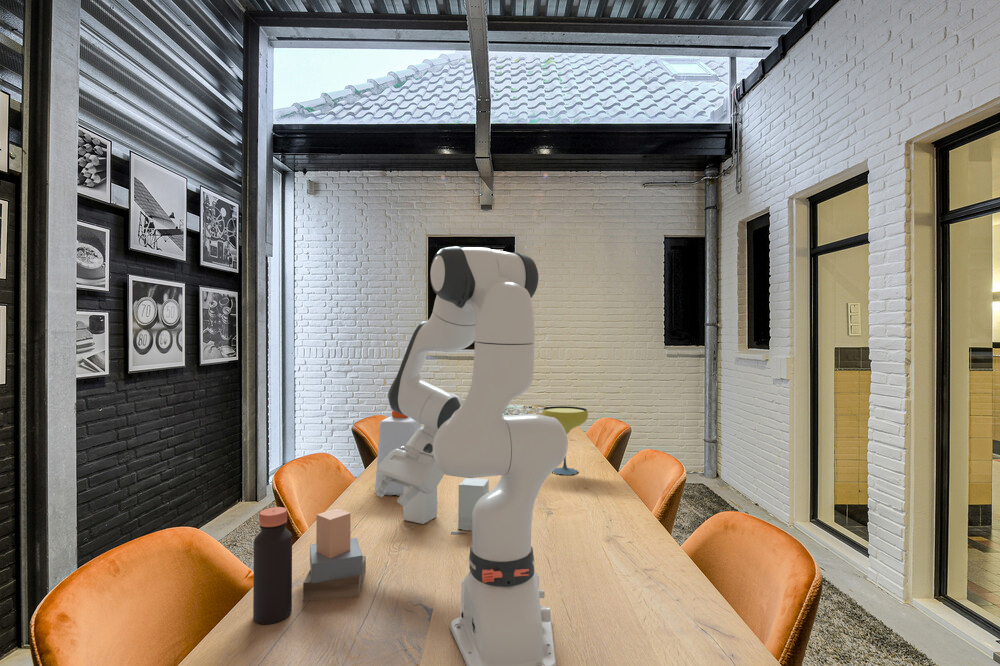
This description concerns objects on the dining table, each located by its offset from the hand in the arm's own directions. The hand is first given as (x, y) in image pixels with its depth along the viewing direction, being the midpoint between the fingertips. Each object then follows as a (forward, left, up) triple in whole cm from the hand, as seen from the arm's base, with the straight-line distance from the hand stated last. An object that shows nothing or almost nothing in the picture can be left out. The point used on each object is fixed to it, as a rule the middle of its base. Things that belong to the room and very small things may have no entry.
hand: (388, 499), depth 116 cm
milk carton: (+29, -7, -16) cm, 34 cm away
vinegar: (-18, +21, -16) cm, 31 cm away
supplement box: (+21, -22, -16) cm, 35 cm away
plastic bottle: (+58, 0, -16) cm, 60 cm away
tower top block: (-7, +11, -12) cm, 18 cm away
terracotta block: (-8, +11, -8) cm, 16 cm away
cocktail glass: (+72, -64, -16) cm, 98 cm away
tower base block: (-7, +11, -16) cm, 21 cm away
